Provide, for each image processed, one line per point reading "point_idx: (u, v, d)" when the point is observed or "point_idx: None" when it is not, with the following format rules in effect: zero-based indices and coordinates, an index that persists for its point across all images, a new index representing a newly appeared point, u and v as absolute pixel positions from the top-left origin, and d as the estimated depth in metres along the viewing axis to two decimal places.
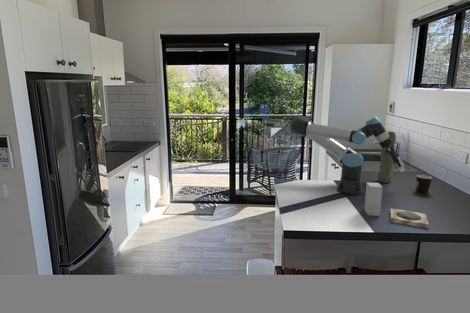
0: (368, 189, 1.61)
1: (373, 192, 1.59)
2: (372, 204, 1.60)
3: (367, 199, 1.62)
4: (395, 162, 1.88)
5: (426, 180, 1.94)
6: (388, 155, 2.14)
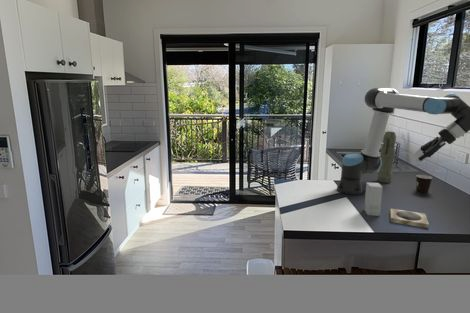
0: (368, 189, 1.61)
1: (373, 192, 1.59)
2: (372, 204, 1.60)
3: (367, 199, 1.62)
4: (426, 154, 1.47)
5: (426, 180, 1.94)
6: (388, 155, 2.14)
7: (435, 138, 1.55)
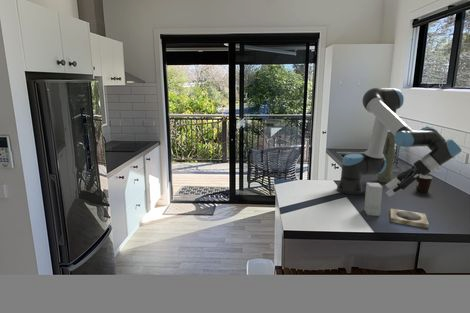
0: (368, 189, 1.61)
1: (373, 192, 1.59)
2: (372, 204, 1.60)
3: (367, 199, 1.62)
4: (400, 186, 1.47)
5: (426, 180, 1.94)
6: (388, 155, 2.14)
7: (410, 169, 1.54)
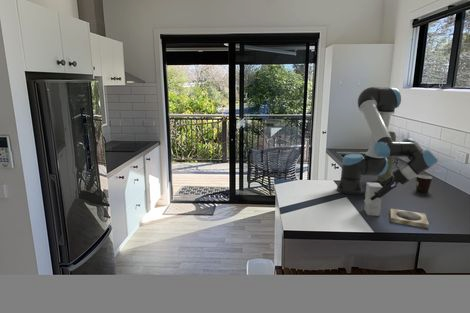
0: (368, 189, 1.61)
1: None
2: (372, 204, 1.60)
3: None
4: (376, 194, 1.55)
5: (426, 180, 1.94)
6: None
7: (390, 177, 1.59)
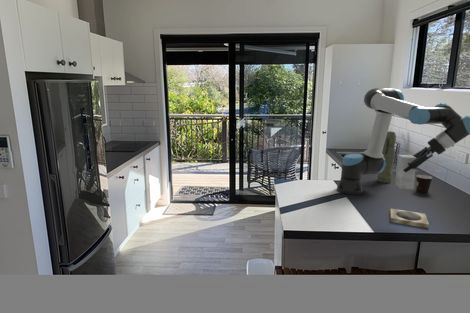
0: (401, 160, 1.50)
1: (407, 163, 1.48)
2: (405, 176, 1.50)
3: None
4: (410, 165, 1.44)
5: (426, 180, 1.94)
6: (388, 155, 2.14)
7: (424, 148, 1.49)
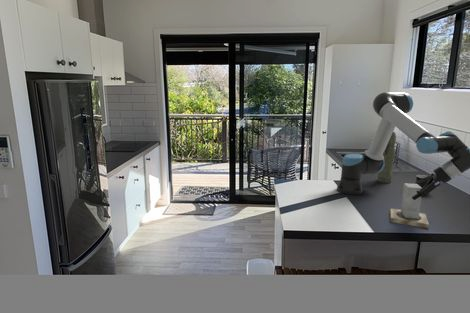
0: (406, 190, 1.53)
1: (412, 193, 1.51)
2: (411, 206, 1.52)
3: (405, 201, 1.54)
4: (419, 193, 1.44)
5: None
6: (388, 155, 2.14)
7: (430, 176, 1.51)
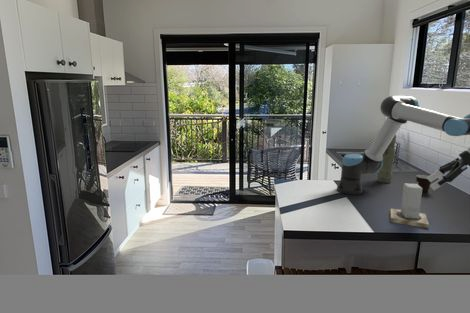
0: (406, 190, 1.53)
1: (412, 193, 1.51)
2: (411, 206, 1.52)
3: (405, 201, 1.54)
4: (446, 178, 1.39)
5: (426, 180, 1.94)
6: (388, 155, 2.14)
7: (455, 160, 1.46)
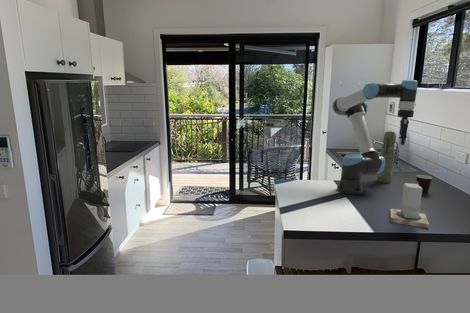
0: (406, 190, 1.53)
1: (412, 193, 1.51)
2: (411, 206, 1.52)
3: (405, 201, 1.54)
4: (401, 137, 1.63)
5: (426, 180, 1.94)
6: (388, 155, 2.14)
7: (400, 120, 1.72)
